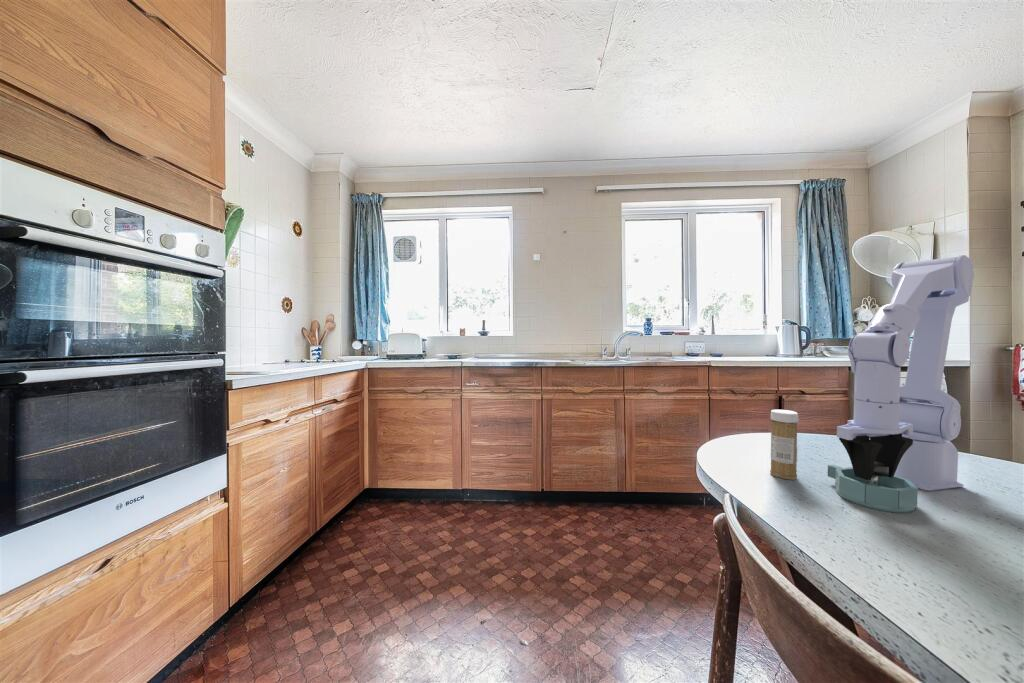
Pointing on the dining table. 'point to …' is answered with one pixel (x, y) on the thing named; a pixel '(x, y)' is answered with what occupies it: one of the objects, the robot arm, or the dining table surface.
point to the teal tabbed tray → (875, 491)
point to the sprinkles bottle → (784, 443)
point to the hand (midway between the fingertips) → (873, 476)
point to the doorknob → (878, 473)
